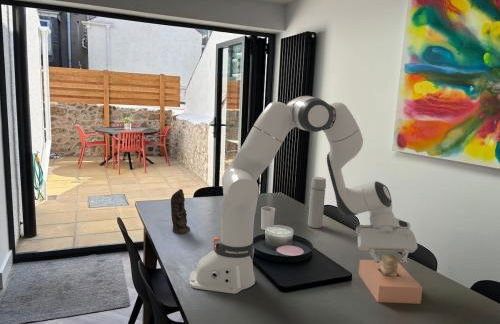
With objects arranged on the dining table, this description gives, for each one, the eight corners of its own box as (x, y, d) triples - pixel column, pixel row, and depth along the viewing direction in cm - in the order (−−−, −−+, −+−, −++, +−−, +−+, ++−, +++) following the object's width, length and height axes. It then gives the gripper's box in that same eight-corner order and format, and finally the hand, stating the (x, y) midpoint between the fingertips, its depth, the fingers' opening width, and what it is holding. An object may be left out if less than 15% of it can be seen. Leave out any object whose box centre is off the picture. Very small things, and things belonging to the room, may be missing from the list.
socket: (377, 302, 121) (379, 286, 120) (358, 273, 141) (359, 259, 140) (420, 303, 121) (422, 287, 121) (395, 275, 141) (397, 261, 140)
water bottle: (322, 229, 188) (327, 180, 184) (306, 227, 189) (310, 178, 185) (322, 223, 197) (327, 176, 192) (307, 222, 198) (311, 175, 194)
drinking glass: (276, 228, 185) (277, 209, 184) (268, 231, 180) (269, 211, 179) (266, 225, 190) (267, 205, 188) (257, 228, 185) (258, 208, 183)
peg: (383, 287, 129) (386, 259, 127) (379, 281, 133) (382, 254, 131) (395, 287, 129) (398, 260, 127) (390, 282, 133) (393, 255, 131)
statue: (183, 234, 171) (184, 191, 167) (169, 232, 173) (170, 189, 170) (190, 230, 177) (191, 188, 174) (177, 227, 179) (177, 186, 176)
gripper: (357, 220, 134) (363, 258, 126) (414, 223, 135) (423, 260, 127) (352, 228, 139) (358, 264, 131) (407, 231, 140) (416, 267, 132)
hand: (390, 262), depth 129 cm, fingers open, 8 cm apart
